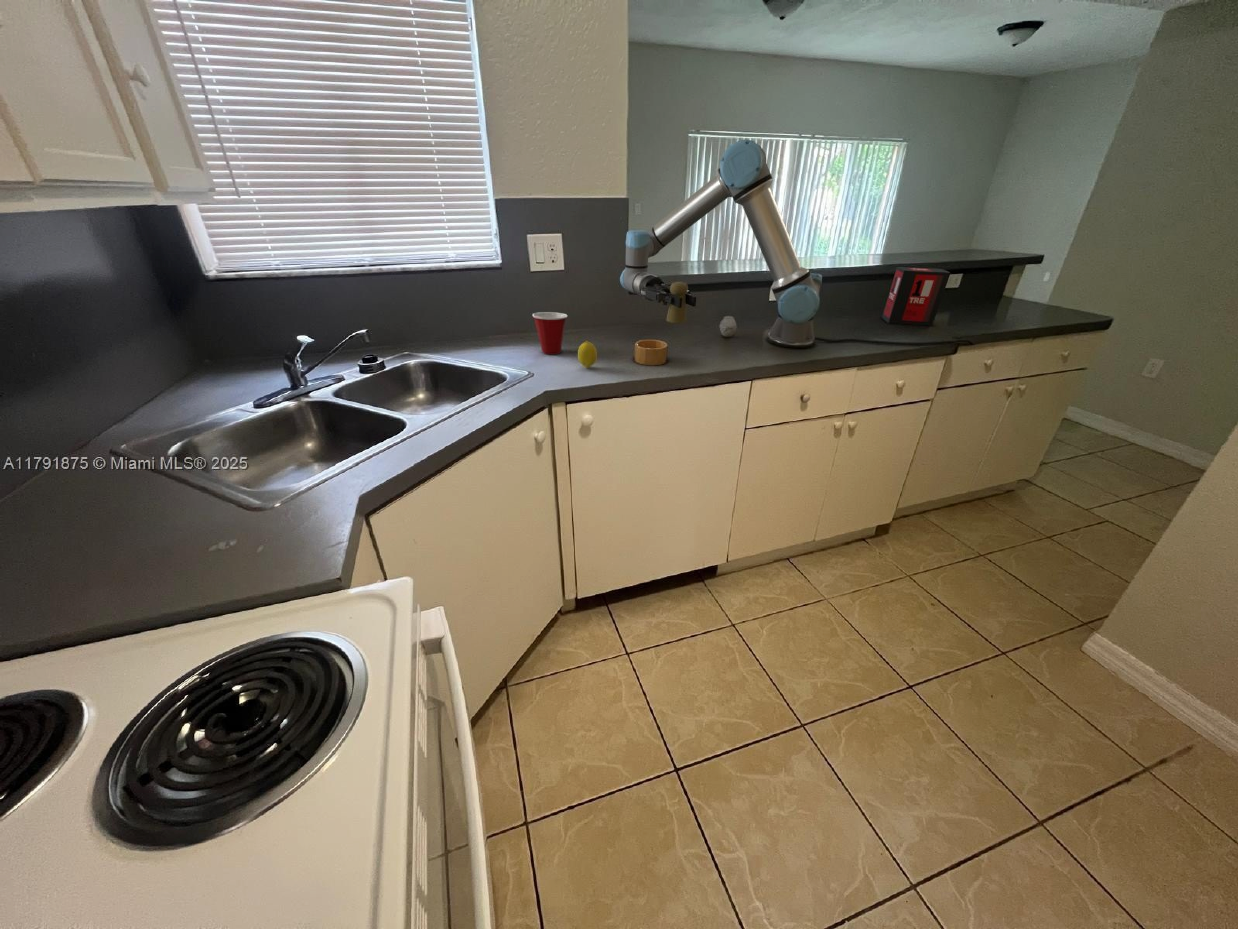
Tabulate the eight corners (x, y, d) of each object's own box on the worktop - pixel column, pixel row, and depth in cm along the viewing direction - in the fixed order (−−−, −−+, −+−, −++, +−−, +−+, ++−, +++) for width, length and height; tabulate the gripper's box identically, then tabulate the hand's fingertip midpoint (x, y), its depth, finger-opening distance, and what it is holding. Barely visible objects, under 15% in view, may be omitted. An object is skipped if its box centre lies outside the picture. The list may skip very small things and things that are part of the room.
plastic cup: (574, 348, 159) (573, 311, 153) (560, 358, 150) (558, 319, 144) (544, 344, 162) (542, 308, 155) (528, 354, 153) (525, 315, 147)
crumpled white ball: (732, 333, 178) (735, 314, 174) (737, 339, 172) (740, 319, 168) (716, 333, 178) (718, 314, 174) (720, 339, 172) (723, 319, 168)
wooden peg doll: (686, 318, 149) (689, 280, 144) (686, 323, 144) (690, 284, 138) (666, 317, 150) (669, 280, 144) (666, 322, 145) (668, 283, 139)
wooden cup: (667, 356, 154) (669, 340, 151) (664, 366, 146) (665, 350, 143) (637, 353, 155) (638, 338, 153) (632, 363, 147) (632, 347, 145)
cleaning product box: (924, 320, 201) (941, 268, 191) (932, 325, 194) (950, 272, 183) (881, 317, 203) (896, 266, 193) (888, 323, 196) (904, 270, 186)
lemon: (582, 372, 140) (582, 345, 136) (575, 366, 144) (574, 339, 140) (600, 369, 142) (600, 342, 138) (592, 363, 146) (591, 337, 142)
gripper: (671, 296, 163) (711, 313, 145) (625, 300, 156) (661, 318, 138) (673, 273, 159) (714, 286, 141) (626, 276, 152) (662, 290, 134)
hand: (687, 302), depth 139 cm, fingers closed on wooden peg doll, 4 cm apart
